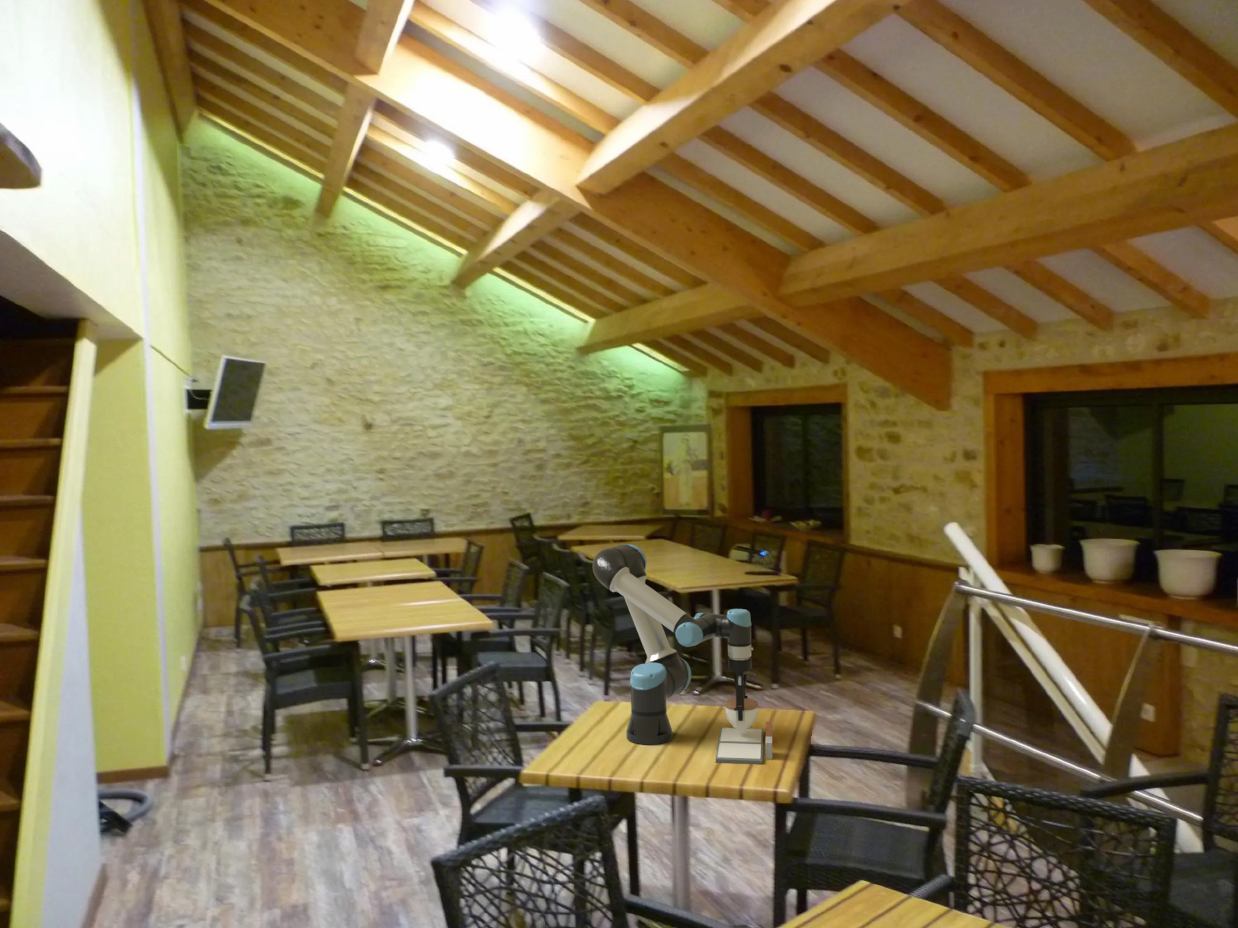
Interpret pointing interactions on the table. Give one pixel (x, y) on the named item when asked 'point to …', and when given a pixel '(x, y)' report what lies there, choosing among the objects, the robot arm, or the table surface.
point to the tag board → (744, 745)
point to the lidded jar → (750, 711)
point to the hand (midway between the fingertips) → (741, 724)
